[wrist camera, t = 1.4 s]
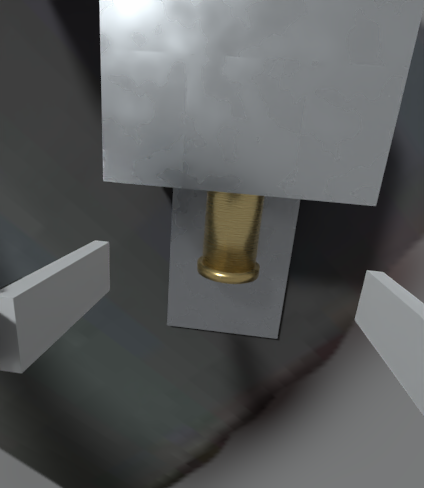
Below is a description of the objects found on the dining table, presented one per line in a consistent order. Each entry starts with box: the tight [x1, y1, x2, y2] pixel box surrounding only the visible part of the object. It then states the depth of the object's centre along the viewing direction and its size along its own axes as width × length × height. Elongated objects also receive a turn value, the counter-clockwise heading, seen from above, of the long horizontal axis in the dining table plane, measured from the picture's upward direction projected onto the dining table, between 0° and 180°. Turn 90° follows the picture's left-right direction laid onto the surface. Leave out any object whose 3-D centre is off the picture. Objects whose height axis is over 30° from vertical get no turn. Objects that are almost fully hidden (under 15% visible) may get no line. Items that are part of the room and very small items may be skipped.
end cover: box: [197, 191, 264, 284], centre depth 24 cm, size 6×14×6 cm, turn 175°
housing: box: [99, 0, 424, 339], centre depth 23 cm, size 16×28×11 cm, turn 175°
